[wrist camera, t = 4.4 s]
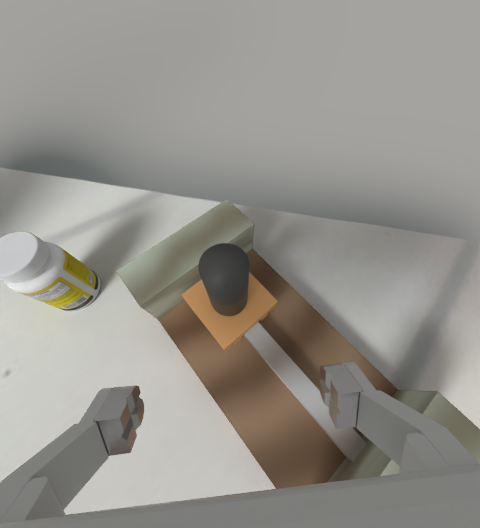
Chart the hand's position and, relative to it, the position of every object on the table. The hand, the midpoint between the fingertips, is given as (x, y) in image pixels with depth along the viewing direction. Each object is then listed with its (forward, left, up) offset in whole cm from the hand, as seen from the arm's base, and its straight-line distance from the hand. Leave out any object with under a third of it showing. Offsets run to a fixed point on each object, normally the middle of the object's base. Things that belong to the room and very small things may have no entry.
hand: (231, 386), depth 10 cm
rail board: (0, +4, -12) cm, 12 cm away
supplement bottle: (-18, -7, -12) cm, 23 cm away
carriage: (-5, +4, -10) cm, 12 cm away
